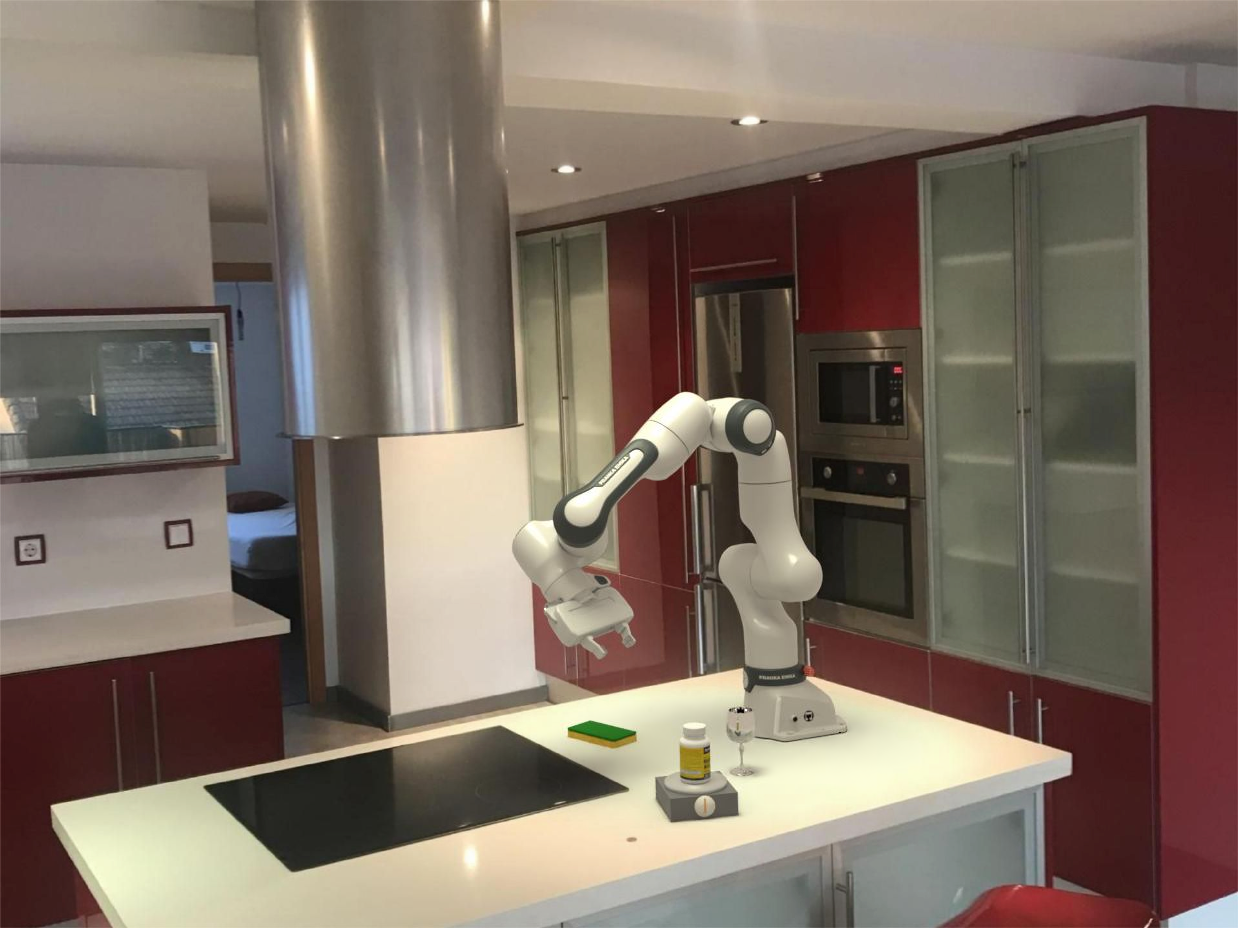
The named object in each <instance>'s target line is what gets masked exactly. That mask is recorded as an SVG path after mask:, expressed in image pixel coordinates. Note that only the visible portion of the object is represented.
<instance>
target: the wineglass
mask: <svg viewBox="0 0 1238 928" xmlns="http://www.w3.org/2000/svg"><path fill="white" fill-rule="evenodd" d="M725 732H726V736H727V737H728V739H729V740H731V741H732V742H734V743H736V744H739V746H738V752H739V755H740V764H739V767H735V768H732V769H731V770H730V771H729V772H730V774H731V775H734V776H749V775H752V774H754V773H755V771H754V769H752V768H749V767H745V765H744V751H745V746H744V744H746V743H750V742H751V741H752V740H753V739H754V738H755V737H756V736H755V734H756V721H755V716H754V712H753V709H751V708H748V707H743V706H736V707H731V708H728V710H727V715H726V720H725Z"/></svg>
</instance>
